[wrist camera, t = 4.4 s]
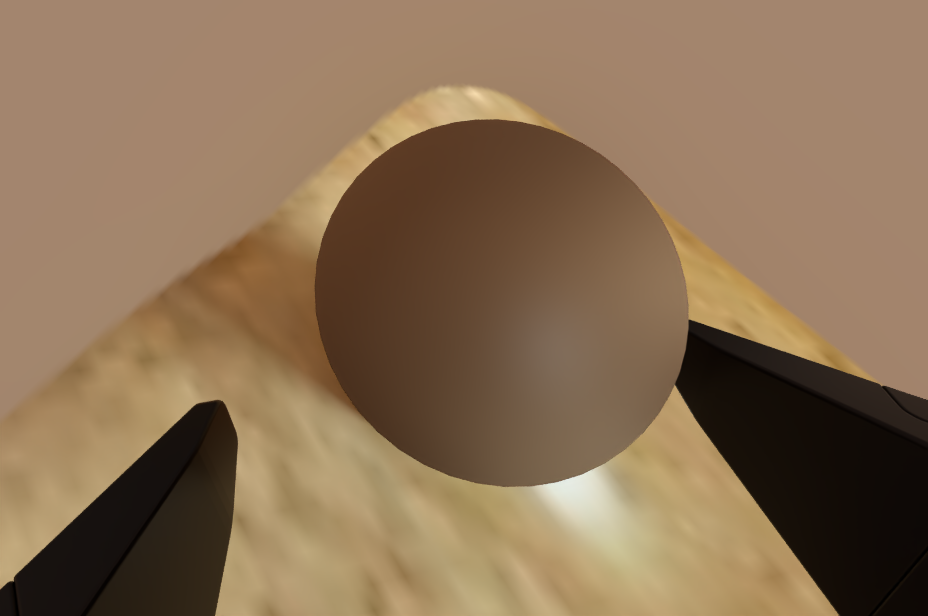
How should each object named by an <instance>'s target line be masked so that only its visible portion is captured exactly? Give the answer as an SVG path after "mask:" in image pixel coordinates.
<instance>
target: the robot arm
mask: <svg viewBox="0 0 928 616" xmlns="http://www.w3.org/2000/svg"><path fill="white" fill-rule="evenodd" d="M675 386H676V387H677V389H678V391H679V393H680V394H681V396H682V398H683V399H684V401H685V403H686V404H687V406H688V408H689V409H690V411H691V413H692V414H693V416H694V418H695V419H696V421H697V422H698V424H699V425H700V426H701V428H702V429H703V431H704V432H705V433H706V435H707V436H708V438H709V439H710V440H711V442H712V443H713V444H714V446H715V447H716V448H717V450H718V451H719V453H720V454H721V455H722V457H723V458H724V459H725V461H726V462H727V463H728V465H729V466H730V467H731V469H732V470H733V472H734V473H735V474H736V476H737V477H738V478H739V480H740V481H741V482H742V484H743V485H744V487H745V488H746V489H747V491H748V492H749V493H750V495H751V496H752V497H753V499H754V500H755V501H756V503H757V504H758V506H759V507H760V508H761V510H762V511H763V512H764V514H765V515H766V516H767V518H768V519H769V521H770V522H771V523H772V525H773V526H774V527H775V529H776V530H777V531H778V533H779V534H780V536H781V537H782V538H783V540H784V541H785V542H786V544H787V545H788V546H789V548H790V549H791V550H792V552H793V553H794V555H795V556H796V557H797V559H798V560H799V561H800V563H801V564H802V565H803V567H804V568H805V570H806V571H807V572H808V574H809V575H810V576H811V578H812V579H813V580H814V582H815V583H816V585H817V586H818V587H819V589H820V590H821V591H822V593H823V594H824V595H825V597H826V598H827V599H828V601H829V602H830V604H831V605H832V606H833V608H834V609H835V610H836V612H837V613H838V614H839V616H928V400H926V399H923V398H920V397H917V396H914V395H911V394H907V393H905V392H902V391H899V390H896V389H893V388H890V387H887V386H881V385H880V384H878V383H875V382H872V381H869V380H866V379H863V378H860V377H857V376H854V375H851V374H848V373H845V372H843V371H840V370H837V369H834V368H831V367H828V366H825V365H822V364H819V363H816V362H813V361H810V360H807V359H804V358H801V357H798V356H795V355H792V354H789V353H787V352H784V351H781V350H778V349H775V348H772V347H769V346H766V345H763V344H760V343H757V342H754V341H751V340H748V339H745V338H742V337H739V336H736V335H733V334H731V333H728V332H725V331H722V330H719V329H716V328H713V327H710V326H707V325H704V324H701V323H698V322H695V321H692V320H688V335H687V342H686V350H685V354H684V357H683V361H682V365H681V369H680V372H679V375H678V377H677V380H676V382H675ZM237 450H238V438H237V433H236V430H235V427H234V425H233V422H232V420H231V417H230V415H229V412H228V410H227V407H226V405H225V404H224V402H223V401H221V400H214V401H208V402H202V403H198V404H196V405H195V406H194V407H192V408H191V409H190V410H189V411H188V412H187V413H186V414H185V415H184V416H183V417H182V418H181V419H180V420H179V421H178V422H177V423H176V424H174V425H173V426H172V427H171V428H170V429H169V430H168V431H167V432H166V433H165V434H164V435H163V436H162V437H161V438H160V439H159V440H158V441H157V442H156V443H154V444H153V445H152V446H151V447H150V448H149V449H148V450H147V451H146V452H145V453H144V454H143V455H142V456H141V457H140V458H139V459H138V460H137V461H135V462H134V463H133V464H132V465H131V466H130V467H129V468H128V469H127V470H126V471H125V472H124V473H123V474H122V475H121V476H120V477H119V478H118V479H117V480H115V481H114V482H113V483H112V484H111V485H110V486H109V487H108V488H107V489H106V490H105V491H104V492H103V493H102V494H101V495H100V496H99V497H98V498H96V499H95V500H94V501H93V502H92V503H91V504H90V505H89V506H88V507H87V508H86V509H85V510H84V511H83V512H82V513H81V514H80V515H79V516H77V517H76V518H75V519H74V520H73V521H72V522H71V523H70V524H69V525H68V526H67V527H66V528H65V529H64V530H63V531H62V532H61V533H60V534H59V535H57V536H56V537H55V538H54V539H53V540H52V541H51V542H50V543H49V544H48V545H47V546H46V547H45V548H44V549H43V550H42V551H41V552H40V553H38V554H37V555H36V556H35V557H34V558H33V559H32V560H31V561H30V562H29V563H28V564H27V565H26V566H25V567H24V568H23V569H22V570H21V571H19V572H18V573H17V574H16V575H15V577H14V582H13V581H10V582H8V583H7V584H6V585H5V586H3V587H2V588H1V589H0V616H215V613H216V608H217V603H218V598H219V592H220V587H221V582H222V577H223V572H224V566H225V561H226V556H227V551H228V545H229V540H230V534H231V528H232V521H233V510H234V495H235V480H236V465H237Z"/></svg>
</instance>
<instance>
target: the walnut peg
mask: <svg viewBox="0 0 928 616" xmlns="http://www.w3.org/2000/svg"><path fill="white" fill-rule="evenodd" d="M315 302H316V315H317V320H318V325H319V330H320V335H321V340H322V342H323V345H324V348H325V351H326V354H327V357H328V360H329V363H330V365H331V367H332V369H333V371H334V373H335V375H336V377H337V379H338V381H339V383H340V385H341V387H342V388H343V390H344V391H345V393H346V394H347V396H348V397H349V398H350V400H351V401H352V403H353V404H354V406H355V407H356V408H357V410H358V411H359V412H360V413H361V414H362V416H363V417H364V418H365V419H366V420H367V421H368V422H369V423H370V424H371V425H372V426H373V427H374V428H375V430H376V431H377V432H378V433H380V434H381V435H382V436H383V437H385V438H386V439H387V440H388V441H389V442H391V443H392V444H393V445H394V446H396V447H397V448H398V449H399V450H401V451H402V452H404V453H406V454H407V455H409V456H411V457H412V458H414V459H416V460H417V461H419V462H420V463H422V464H424V465H426V466H428V467H431V468H433V469H435V470H438V471H440V472H442V473H445V474H447V475H449V476H453V477H456V478H460V479H463V480H467V481H471V482H474V483H479V484H487V485H495V486H503V487H516V486H536V485H542V484H548V483H555V482H559V481H562V480H565V479H569V478H572V477H575V476H578V475H581V474H584V473H586V472H588V471H590V470H592V469H594V468H596V467H598V466H600V465H602V464H604V463H606V462H607V461H609V460H610V459H612V458H613V457H615V456H616V455H618V454H619V453H621V452H622V451H624V450H625V449H626V448H627V447H628V446H629V445H631V444H632V443H633V442H634V441H635V440H636V439H637V438H638V437H639V436H640V435H641V434H642V433H643V432H644V431H645V430H646V429H647V428H648V426H649V425H650V424H651V423H652V421H653V420H654V419H655V418H656V416H657V415H658V414H659V412H660V411H661V409H662V407H663V406H664V404H665V402H666V401H667V399H668V397H669V395H670V394H671V391H672V389H673V387H674V384H675V382H676V380H677V377H678V375H679V372H680V369H681V365H682V361H683V357H684V354H685V350H686V342H687V335H688V297H687V289H686V282H685V278H684V274H683V270H682V266H681V262H680V258H679V256H678V253H677V251H676V248H675V245H674V243H673V240H672V238H671V236H670V234H669V232H668V230H667V228H666V226H665V224H664V223H663V221H662V219H661V217H660V216H659V214H658V213H657V211H656V210H655V208H654V207H653V205H652V204H651V202H650V201H649V200H648V198H647V197H646V196H645V195H644V194H643V192H642V191H641V190H640V189H639V188H638V187H637V185H636V184H635V183H634V182H633V181H632V180H631V179H630V178H629V177H628V176H627V175H625V174H624V173H623V172H622V171H621V170H620V169H619V168H618V167H617V166H615V165H614V164H613V163H611V162H610V161H609V160H608V159H606V158H605V157H604V156H602V155H601V154H599V153H597V152H596V151H594V150H593V149H591V148H589V147H588V146H586V145H584V144H583V143H581V142H579V141H577V140H575V139H572V138H570V137H568V136H566V135H564V134H562V133H559V132H556V131H553V130H550V129H547V128H544V127H541V126H536V125H532V124H527V123H523V122H517V121H507V120H498V119H495V120H470V121H462V122H454V123H450V124H446V125H442V126H438V127H435V128H431V129H429V130H426V131H424V132H421V133H419V134H416V135H414V136H411V137H409V138H407V139H406V140H404V141H402V142H400V143H398V144H397V145H395V146H393V147H391V148H390V149H389V150H387V151H386V152H385V153H383V154H382V155H381V156H379V157H378V158H377V159H375V160H374V161H373V162H372V163H371V164H370V165H369V166H368V167H367V168H366V169H365V170H364V171H363V172H362V173H361V174H360V175H358V176H357V178H356V179H355V180H354V182H353V183H352V184H351V185H350V187H349V188H348V189H347V191H346V192H345V193H344V195H343V196H342V198H341V200H340V201H339V203H338V205H337V207H336V208H335V210H334V212H333V214H332V215H331V218H330V220H329V223H328V226H327V228H326V231H325V233H324V236H323V238H322V243H321V247H320V251H319V255H318V259H317V267H316V278H315Z"/></svg>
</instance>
